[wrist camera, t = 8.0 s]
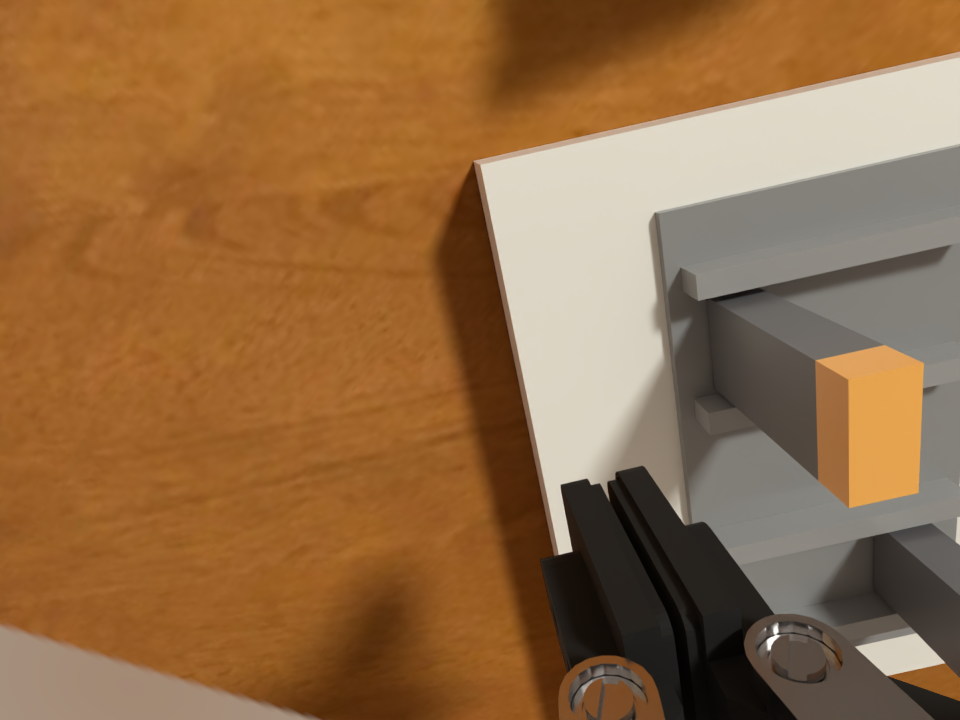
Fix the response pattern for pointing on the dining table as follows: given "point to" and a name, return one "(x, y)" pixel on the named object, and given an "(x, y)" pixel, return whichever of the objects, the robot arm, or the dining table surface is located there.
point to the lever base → (734, 268)
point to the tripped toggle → (821, 394)
